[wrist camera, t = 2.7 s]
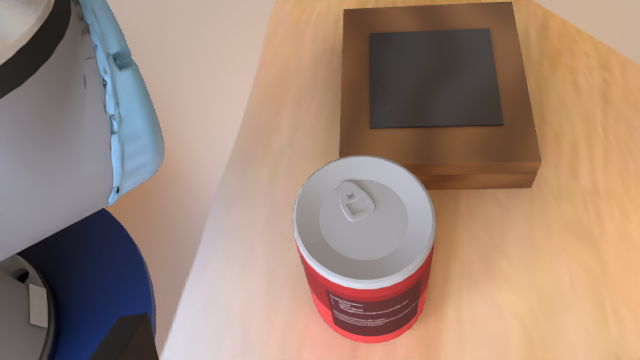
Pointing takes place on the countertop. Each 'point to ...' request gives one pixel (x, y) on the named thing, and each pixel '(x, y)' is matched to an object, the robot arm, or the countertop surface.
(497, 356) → the countertop surface
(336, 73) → the countertop surface
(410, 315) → the canned food
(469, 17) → the wooden picture frame
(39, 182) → the robot arm
